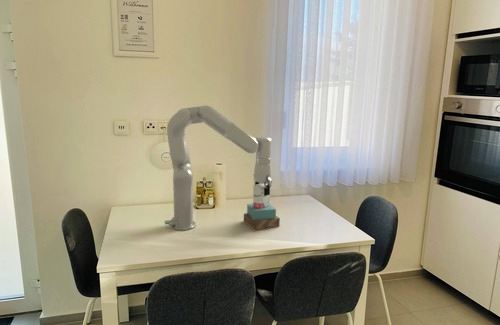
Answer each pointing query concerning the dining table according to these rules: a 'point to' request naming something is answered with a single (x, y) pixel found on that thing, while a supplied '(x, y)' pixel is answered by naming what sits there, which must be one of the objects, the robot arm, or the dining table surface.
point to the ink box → (260, 196)
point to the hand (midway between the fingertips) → (262, 192)
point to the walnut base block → (261, 222)
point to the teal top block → (261, 212)
